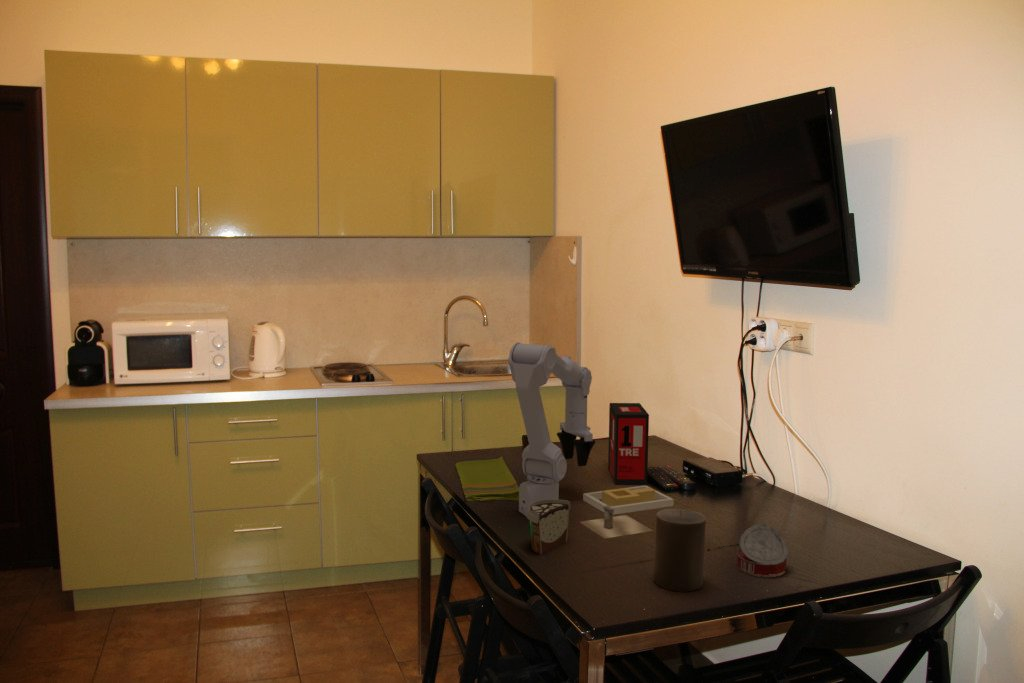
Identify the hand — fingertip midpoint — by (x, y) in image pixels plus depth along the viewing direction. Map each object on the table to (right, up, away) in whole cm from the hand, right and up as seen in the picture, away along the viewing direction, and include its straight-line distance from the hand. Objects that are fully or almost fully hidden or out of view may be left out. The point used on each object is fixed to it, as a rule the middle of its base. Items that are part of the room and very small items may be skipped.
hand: (575, 462), depth 220 cm
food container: (-10, -14, -36) cm, 40 cm away
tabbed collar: (+14, -10, -6) cm, 18 cm away
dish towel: (-24, -8, +14) cm, 29 cm away
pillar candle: (+17, -16, -53) cm, 58 cm away
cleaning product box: (+16, -7, +20) cm, 27 cm away
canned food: (+35, -16, -46) cm, 60 cm away
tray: (+13, -10, -6) cm, 18 cm away
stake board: (+8, -12, -24) cm, 28 cm away
